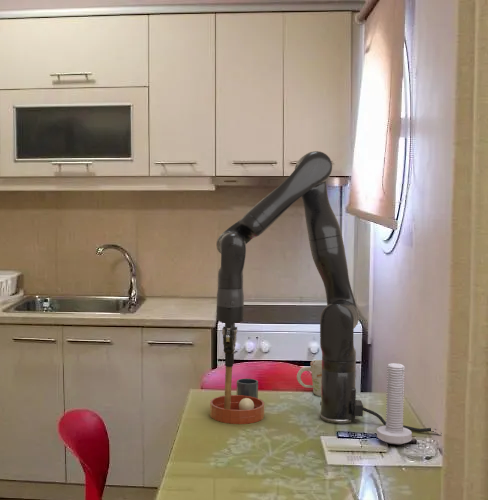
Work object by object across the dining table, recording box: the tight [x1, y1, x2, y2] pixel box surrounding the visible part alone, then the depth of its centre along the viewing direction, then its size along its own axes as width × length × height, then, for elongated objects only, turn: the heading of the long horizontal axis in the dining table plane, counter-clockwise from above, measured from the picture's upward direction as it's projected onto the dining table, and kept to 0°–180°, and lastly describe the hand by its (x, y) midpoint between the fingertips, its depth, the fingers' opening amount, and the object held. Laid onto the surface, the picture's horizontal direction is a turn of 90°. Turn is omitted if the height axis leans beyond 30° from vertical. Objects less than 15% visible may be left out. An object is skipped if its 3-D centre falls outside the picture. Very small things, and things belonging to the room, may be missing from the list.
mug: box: [296, 359, 322, 397], centre depth 219 cm, size 8×13×10 cm, turn 78°
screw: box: [376, 362, 413, 446], centre depth 175 cm, size 8×8×20 cm
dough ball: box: [239, 398, 254, 410], centre depth 197 cm, size 4×4×4 cm
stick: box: [224, 366, 233, 410], centre depth 194 cm, size 2×2×18 cm
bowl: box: [209, 394, 265, 425], centre depth 195 cm, size 15×15×4 cm
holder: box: [236, 378, 259, 399], centre depth 208 cm, size 6×6×7 cm
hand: (229, 365), depth 193 cm, fingers closed on stick, 2 cm apart
